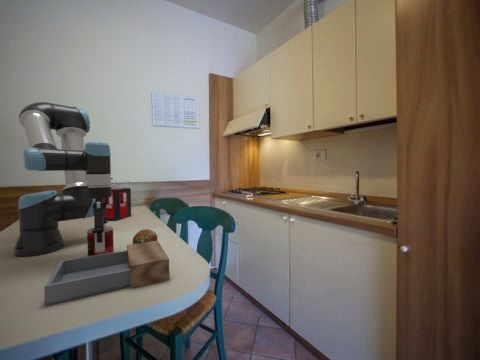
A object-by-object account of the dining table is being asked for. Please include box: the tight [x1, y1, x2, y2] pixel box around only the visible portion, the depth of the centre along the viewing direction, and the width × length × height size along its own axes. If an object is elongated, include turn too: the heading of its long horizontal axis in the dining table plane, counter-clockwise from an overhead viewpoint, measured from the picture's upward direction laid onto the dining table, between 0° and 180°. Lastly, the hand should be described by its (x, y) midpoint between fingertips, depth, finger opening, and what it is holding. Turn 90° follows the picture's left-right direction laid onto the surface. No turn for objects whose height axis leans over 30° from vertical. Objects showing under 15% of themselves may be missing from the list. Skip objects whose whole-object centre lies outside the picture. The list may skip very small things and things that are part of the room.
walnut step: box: [126, 240, 170, 289], centre depth 72 cm, size 10×20×6 cm, turn 29°
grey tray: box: [43, 249, 131, 306], centre depth 65 cm, size 18×18×4 cm
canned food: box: [86, 225, 115, 256], centre depth 81 cm, size 8×8×11 cm
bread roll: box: [132, 228, 158, 244], centre depth 100 cm, size 10×10×8 cm
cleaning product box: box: [104, 187, 132, 222], centre depth 154 cm, size 16×9×20 cm, turn 172°
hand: (101, 246), depth 81 cm, fingers open, 13 cm apart
